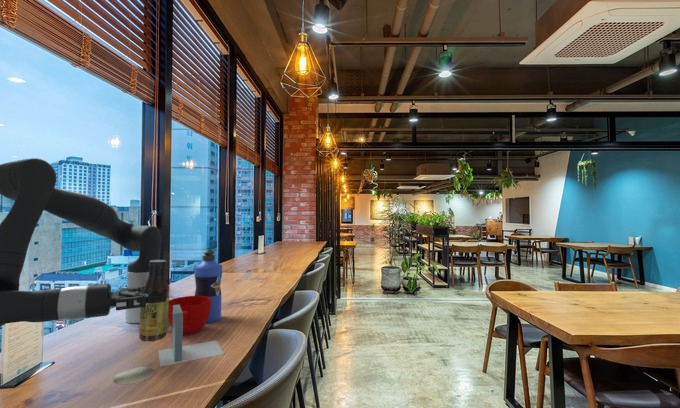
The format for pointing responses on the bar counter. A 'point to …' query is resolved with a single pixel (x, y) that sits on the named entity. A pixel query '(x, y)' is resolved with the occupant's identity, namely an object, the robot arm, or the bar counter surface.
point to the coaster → (133, 375)
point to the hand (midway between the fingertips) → (165, 294)
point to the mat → (191, 352)
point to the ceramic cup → (191, 312)
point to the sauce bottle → (155, 304)
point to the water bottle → (209, 283)
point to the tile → (177, 333)
